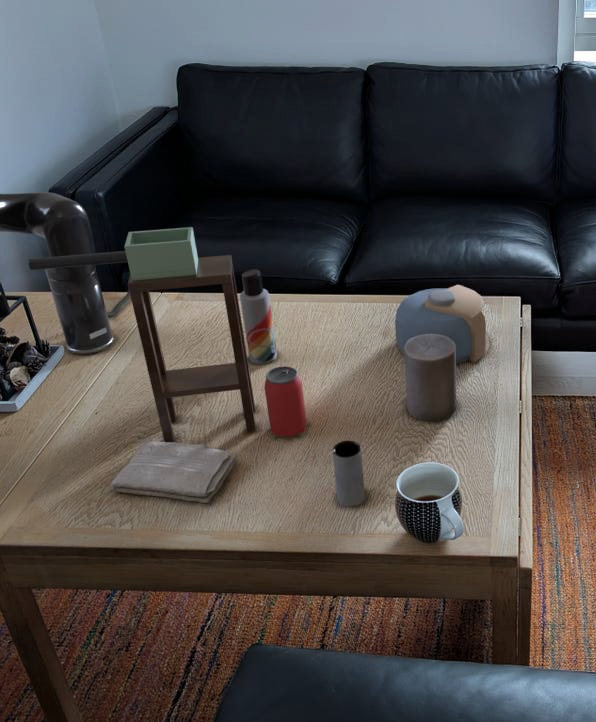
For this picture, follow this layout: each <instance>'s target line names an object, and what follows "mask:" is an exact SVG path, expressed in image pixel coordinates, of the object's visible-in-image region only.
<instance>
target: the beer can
mask: <svg viewBox="0 0 596 722" xmlns="http://www.w3.org/2000/svg"><path fill="white" fill-rule="evenodd" d="M265 374H266V375H265V380H264V393H265V394H264V395H265V401H266V407H267V413H268V421H269V428H270V431H271V433H272V434H273V435H275V436H276V437H279V438H285V439H286V438H294V437H297V436H299V435H301V434H302V433H303V432H304V431H305V430H306V428H307V425H308V422H307V414H306V405H305V398H304V397H305V396H304V389H303V381H302V380H301V377H300V376H299V372H298V370H297V369H295V368H294V367H291V366H287V365H286V366H277V367H274V368H272V369H270V370H268V371H267V373H265Z"/></svg>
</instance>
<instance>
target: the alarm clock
mask: <svg viewBox="0 0 596 722" xmlns="http://www.w3.org/2000/svg"><path fill="white" fill-rule="evenodd" d="M484 307H485V301H484V299H483V297H482V296H481V294H479V293H478V292H477V291H475V290H473V289H471V288H468V287H467V286H466V287H465V286H464V285H461V284H456V285H453V286H450V287H448V288H446V287H445V288H443V287H441V288H429V289H427V288H426V289H423V290H419V291H416V292H415V293H412V294H410V295H408V296H407V297H405V298H404V299H403V300H402V301H401V303H400V304H399V305H398V307H397V309H396V311H395V312H396V313H395V319H394V324H395V325H394V329H395V342H396V345H397V346H398V348H400V349H401V351H402V353H403V354H404V345H405V344H406V342H407V341H408V340H409V339H411V338H413V337H416V336H419V335H424V334H438V335H443V336H446V337H448V338H450V339H451V340H452V341H453V342H454V343H455V346H456V364H459V363H463V362H465V361H468V360H469V361H470V362H473V363H476V362H477V361H479V360H480V359H482V358H483V357H484V356H486V354H487V352H488V350H489V346H490V345H489V344H490V343H489V341H490V340H489V333H488V332H487V322H486V317H485V315H484V313H483V312H482V310H483V309H484Z"/></svg>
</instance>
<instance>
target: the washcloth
mask: <svg viewBox="0 0 596 722" xmlns="http://www.w3.org/2000/svg"><path fill="white" fill-rule="evenodd" d="M236 462H237V458H236V457H235V456H233V455H230V452H229V451H228V450H224V449H217V448H213V447H209V446H208V445H206V444H188V443H181V442H171V443H170V442H164V441H158V440H147V441H143V442H142V443H141V444H140V445H139V447H138V448H137V449H136V451H135V452H134V453H133V456H132V458H131V459H130V461H129V462H128V464H126V465H124V467H123V468H122V469H121V470H120V471H119V472H118V474H117V475H116V476H115V477H114V479H113V480H112V481H111V483H110V489H111V491H112V492H113V491H114V492H117V493H123V494H130V495H131V494H132V495H139V496H151V497H162V498H169V499H173V500H181V501H186V502H198V503H202V504H209V503H210V501H211V500H212V498H213V496H215V494H216V493H217V492H218V491H219V489H220V488H221V487H222V486H223V484H224V481H225V480H226V479H227V477H228V475H229V474H230V472H231V471H232V469H233V468H234V466H235V465H236Z"/></svg>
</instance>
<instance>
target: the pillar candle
mask: <svg viewBox="0 0 596 722" xmlns="http://www.w3.org/2000/svg"><path fill="white" fill-rule="evenodd" d="M403 354H404V370H405V373H404V374H405V396H406V398H405V399H406V409H407V411H408V413H409V415H411V416H412V417H413V418H414V419H417V420H419V421H425V422H437V421H441V420H443V419H446V418H449V417H451V416H452V415H454V413H455V412H456V410H457V363H456V346H455V343H454V342H453V341H452V340H451V339H450V338H448V337H446V336H443V335H438V334H424V335H419V336H416V337H413V338H411V339H409V340H408V341H407V342H406V344H405V345H404V353H403Z"/></svg>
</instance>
